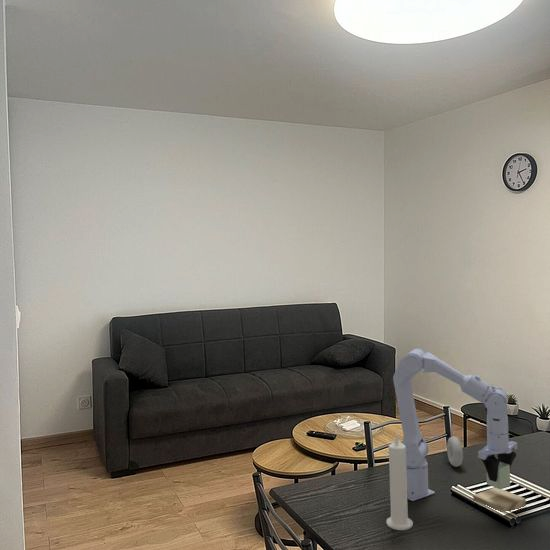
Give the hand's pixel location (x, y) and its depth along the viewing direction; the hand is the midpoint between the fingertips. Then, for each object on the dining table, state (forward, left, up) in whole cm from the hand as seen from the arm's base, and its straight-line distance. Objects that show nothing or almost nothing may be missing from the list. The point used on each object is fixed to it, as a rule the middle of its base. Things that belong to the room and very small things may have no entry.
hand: (498, 478), depth 164 cm
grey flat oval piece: (+13, +28, -8) cm, 32 cm away
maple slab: (0, 0, -8) cm, 8 cm away
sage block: (0, 0, -2) cm, 2 cm away
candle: (-31, +8, -8) cm, 33 cm away
